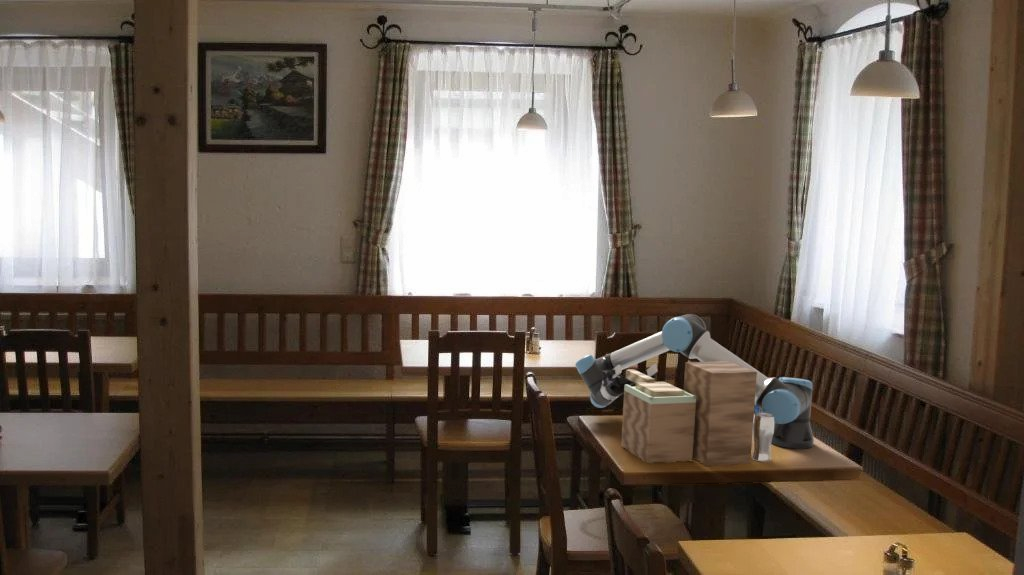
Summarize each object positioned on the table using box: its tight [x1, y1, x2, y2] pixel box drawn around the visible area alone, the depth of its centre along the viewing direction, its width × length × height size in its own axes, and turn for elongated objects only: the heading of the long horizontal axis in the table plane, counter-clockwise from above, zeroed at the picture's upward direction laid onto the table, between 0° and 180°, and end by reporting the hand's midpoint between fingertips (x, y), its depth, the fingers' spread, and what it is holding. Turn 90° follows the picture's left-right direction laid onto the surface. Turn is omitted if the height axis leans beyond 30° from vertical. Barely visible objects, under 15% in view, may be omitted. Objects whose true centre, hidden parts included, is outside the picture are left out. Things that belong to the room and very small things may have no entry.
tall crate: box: [683, 361, 757, 467], centre depth 333 cm, size 18×16×30 cm
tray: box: [624, 384, 696, 404], centre depth 333 cm, size 20×16×2 cm
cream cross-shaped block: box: [625, 369, 684, 397], centre depth 340 cm, size 30×10×3 cm, turn 18°
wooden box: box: [620, 390, 696, 464], centre depth 334 cm, size 20×16×19 cm
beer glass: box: [751, 411, 775, 463], centre depth 333 cm, size 7×7×15 cm
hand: (638, 368), depth 348 cm, fingers open, 13 cm apart
